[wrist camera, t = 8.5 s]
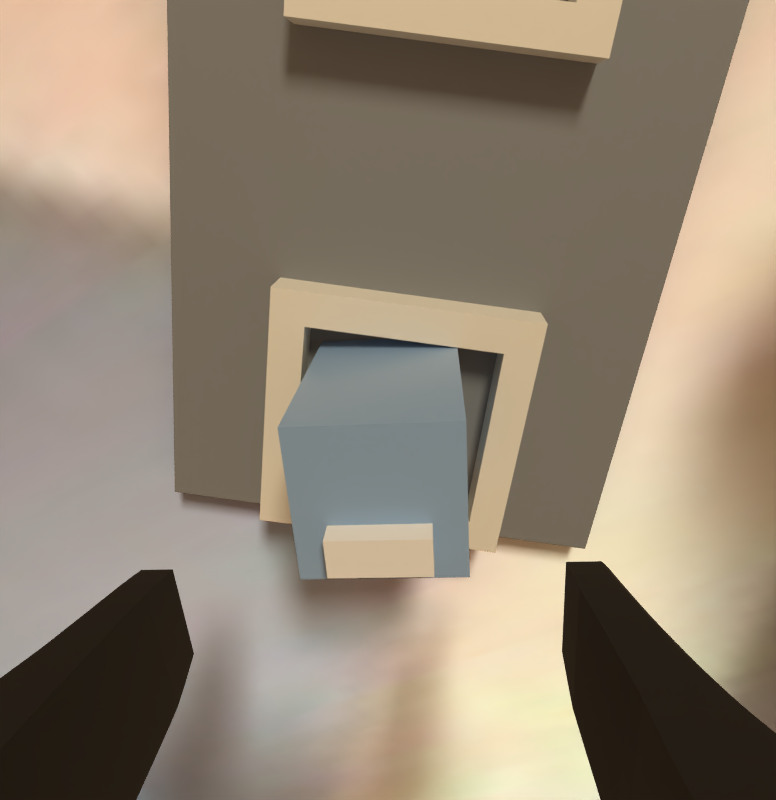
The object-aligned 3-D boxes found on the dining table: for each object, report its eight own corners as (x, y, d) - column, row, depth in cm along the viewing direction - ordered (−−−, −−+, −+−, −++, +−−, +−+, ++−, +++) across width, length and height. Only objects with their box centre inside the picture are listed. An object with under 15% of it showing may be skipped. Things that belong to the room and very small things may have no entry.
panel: (827, -323, 13) (897, -404, 11) (578, 531, 22) (593, 571, 20) (178, -403, 14) (133, -497, 12) (185, 476, 22) (161, 511, 20)
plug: (456, 335, 19) (467, 433, 13) (459, 455, 20) (470, 594, 14) (322, 341, 19) (270, 440, 13) (335, 459, 20) (295, 596, 14)
